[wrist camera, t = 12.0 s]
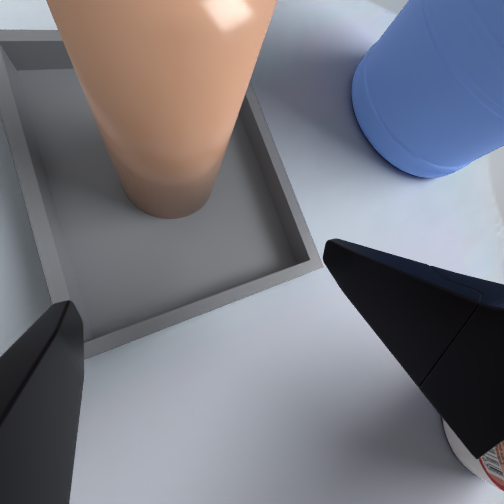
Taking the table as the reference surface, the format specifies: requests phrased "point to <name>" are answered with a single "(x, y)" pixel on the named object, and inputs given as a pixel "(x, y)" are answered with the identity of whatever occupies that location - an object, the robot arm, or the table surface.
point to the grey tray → (131, 217)
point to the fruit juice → (480, 460)
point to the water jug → (435, 86)
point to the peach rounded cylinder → (164, 87)
